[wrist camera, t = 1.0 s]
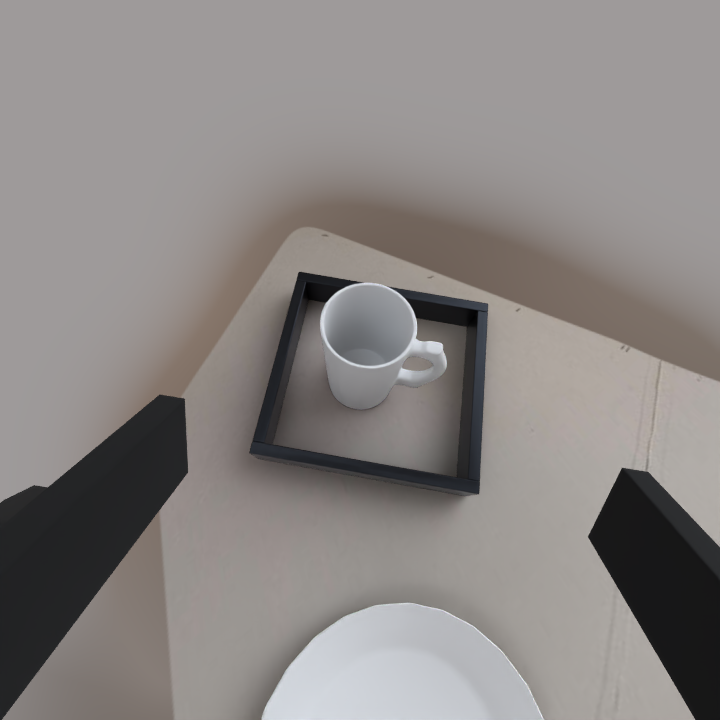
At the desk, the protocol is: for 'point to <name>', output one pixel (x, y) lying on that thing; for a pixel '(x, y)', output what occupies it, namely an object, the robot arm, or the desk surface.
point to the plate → (401, 671)
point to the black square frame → (462, 485)
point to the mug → (373, 345)
